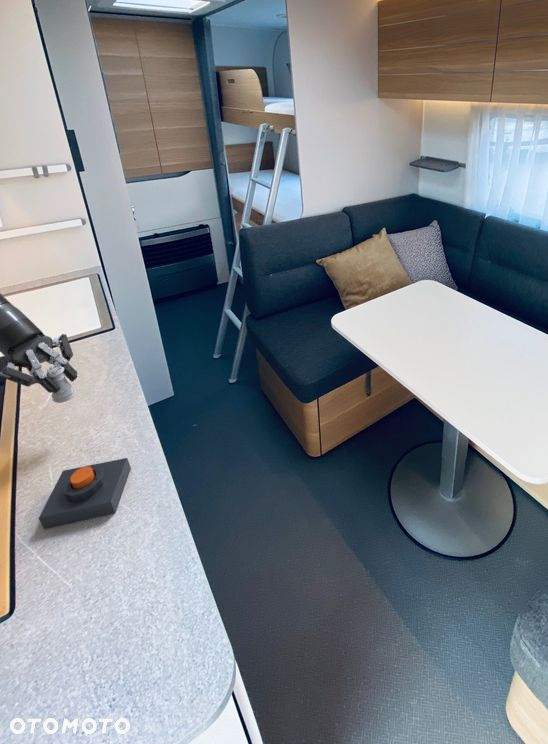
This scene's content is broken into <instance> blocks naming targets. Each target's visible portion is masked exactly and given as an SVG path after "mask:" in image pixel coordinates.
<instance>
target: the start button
mask: <svg viewBox="0 0 548 744" xmlns="http://www.w3.org/2000/svg"><path fill="white" fill-rule="evenodd" d="M86 466H87V467H84V466H81V467H82V468H80V469H78V470H77V471H75V472H74V473H73V474H72V476H71V478H70V481H71V484H72V486H73V488H74V489H82V488H84V487H86V486H88V485H89V484H90V483H91V482H92V481H93V480H94V477H95V475H94V472H93V470H92V468H91V467H88V465H86Z"/></svg>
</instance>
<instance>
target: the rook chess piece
mask: <svg viewBox="0 0 548 744" xmlns="http://www.w3.org/2000/svg"><path fill="white" fill-rule="evenodd" d="M63 371H64V367H61V365H58V366H57V365H53V366H50V367H48V368H47V369H46V373H45V374H46V377H47V376H49V377H50V378H51V379H52V380H53V381H54V382H55V383H56V384H57V385H58V386H59V387H60V390H59V391H58V392H57V393H53V392H52V393H51V398H52V401H53V403H58V404H62V403H63V404H64V403H66V402H68V401H70V400H71V399H73V398H74V397H75V395H76V394H77V388H76V387H75V385H74V384H72V382H69V381H68V379H67V377H66V376H65V373H63Z"/></svg>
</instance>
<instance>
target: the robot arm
mask: <svg viewBox="0 0 548 744" xmlns="http://www.w3.org/2000/svg"><path fill="white" fill-rule="evenodd" d="M54 345H55V347H57V348H59V350H60V353H61V355H60V353H59V352H57V351H56V350H55V349H54ZM0 353H1V355H3V356H4V357H6V359H7V365H5V366H4V367H3V368H2V369H1V371H0V378H2V379H5V380H8V381H11V382H14V383H16V384H19V385H22V386H23V387H28V388H29V387H31V386H32V385H36V384H39V385H40V386H41V387H42V388H44V390H45V391H47V392H48V393H50V394H52V392H53V393H57V392H58V391H59V390H60V387H59V386H58V385H57V384H56V383H55V382H54V381H53V380H52V379H51V378H50V377H49V376H46V374H47V373H46V372H45V371H44V369H43V368H42V364H43V363H45V362H46V363H47V364H49V365H53V366H54V365H57V366H58V365H61V367H64V371H63V373H65V378H66V379H67V380H69V381H70V382H71V383H72V382H74V381H76V380H77V378H78V374H79V373H78V371H77V370H76V369H75V368H74V367H73V366H72V365H71V364H70V363H69V362H70V361H71V359H72V358H73V357H74V353H73V350H72V347H71V344H70V341H69V338H68V336H67V334H66V333H62V334H61V335H59V336H56V337H51V336H48V335H46V334H44V333H43V331H42V330H41V329H40V328H39V327H38V326H37V325H36V324H35V323H34V322H33V321H32V320H31V319H30V318H29V317H27V316H26V314H25V313H23V312H22V310H20V308H18V307H17V306H15V305H13V304H12V303H11V302H10V301H9V300H8V299H7V298H6V297H5V296H4V295H3V294H2V293H1V292H0ZM17 367H19V368H24V369H26V370H27V371H28V373H29V374H27V373H25V372H22V371H20V370H18V368H17Z"/></svg>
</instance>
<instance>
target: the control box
mask: <svg viewBox="0 0 548 744" xmlns="http://www.w3.org/2000/svg"><path fill="white" fill-rule="evenodd" d="M87 466H88V467H91V468H92V470H93V472H94V475H95V477H94V480H93V481H92V482H91V483H90V484H89V485H88V486H86V487H84V488H82V489H74V488H73V486H72V484H71V481H70V478H71V476H72V474H73V473H74V472H75V471H77V470H78V469H80V468H82V467H87ZM131 470H132V467H131V465H130V462H129V459H128V457H124V458H119V459H115V460H110V461H105V462H100V463H95V464H88V465H83V466H80V467H75V468H69V469H64V470H62V471H61V474H60V475H59V477H58V479H57V482H56V483H55V485H54V487H53V489H52V491H51V492H50V495H49V497H48V499H47V500H46V503H45V505H44V507H43V508H42V511H41V512H40V515H39V516H38V520H39V522H40V524H41V526H42V528H43V529H44V530H48V529H52V528H57V527H61V526H65V525H69V524H75V523H78V522H82V521H88V520H92V519H96V518H100V517H105V516H110V515H113V514H116V513H117V510H118V508H119V504H120V501H121V498H122V496H123V492H124V489H125V487H126V484H127V481H128V478H129V475H130V473H131Z"/></svg>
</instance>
